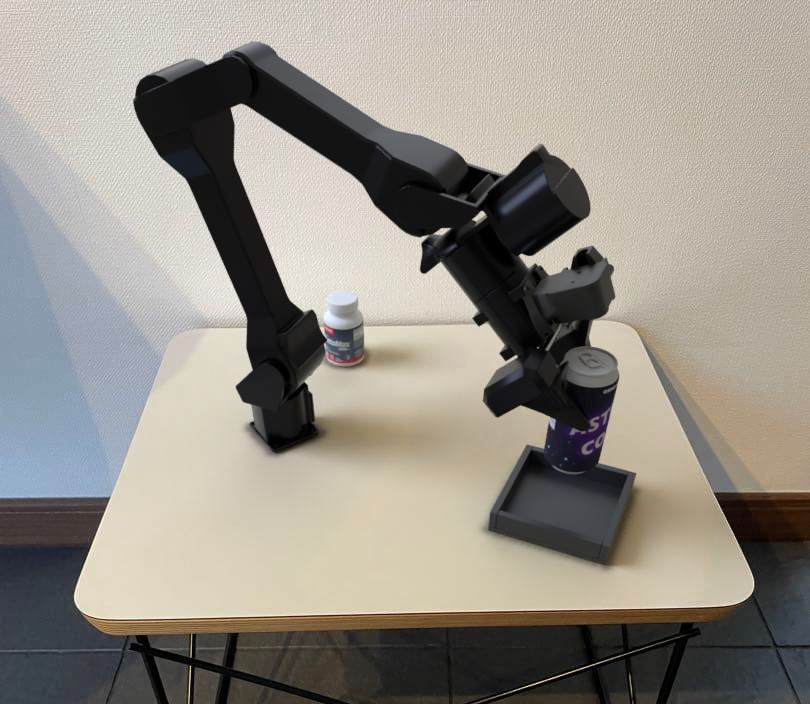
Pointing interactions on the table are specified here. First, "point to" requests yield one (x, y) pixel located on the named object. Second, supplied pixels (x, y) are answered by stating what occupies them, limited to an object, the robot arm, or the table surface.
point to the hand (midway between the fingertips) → (594, 412)
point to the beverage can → (595, 392)
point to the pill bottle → (344, 329)
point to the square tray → (562, 506)
